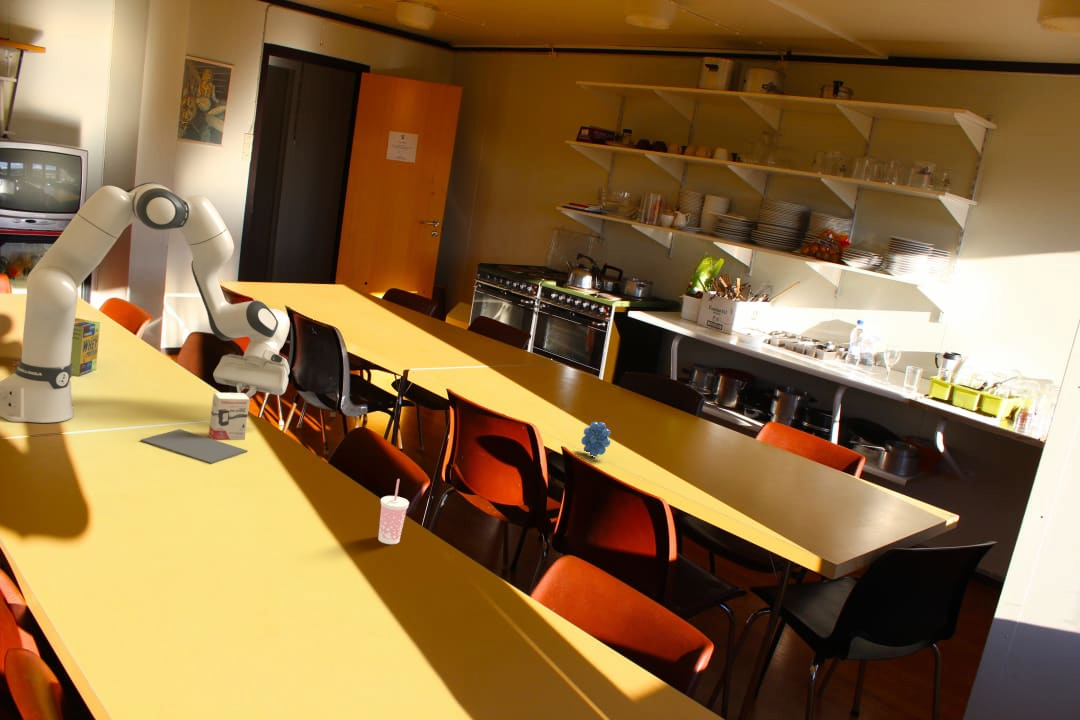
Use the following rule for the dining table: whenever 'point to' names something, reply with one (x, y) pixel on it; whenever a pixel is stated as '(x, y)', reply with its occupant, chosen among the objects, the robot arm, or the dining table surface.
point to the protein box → (84, 346)
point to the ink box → (229, 416)
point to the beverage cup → (392, 517)
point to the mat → (194, 446)
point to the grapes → (596, 438)
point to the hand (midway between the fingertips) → (241, 400)
